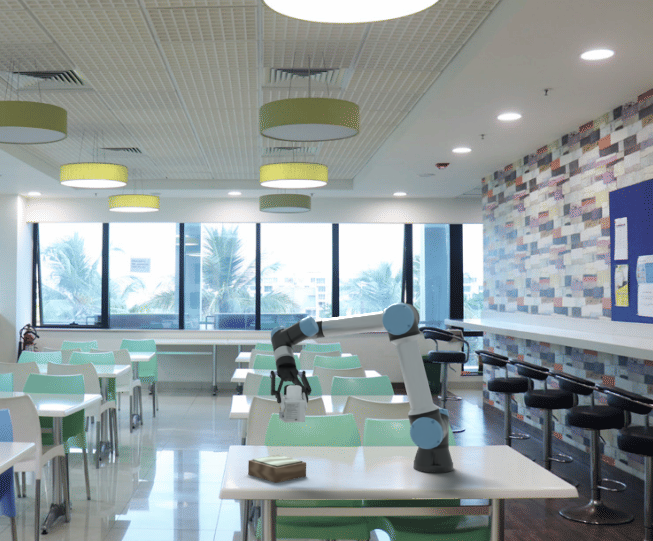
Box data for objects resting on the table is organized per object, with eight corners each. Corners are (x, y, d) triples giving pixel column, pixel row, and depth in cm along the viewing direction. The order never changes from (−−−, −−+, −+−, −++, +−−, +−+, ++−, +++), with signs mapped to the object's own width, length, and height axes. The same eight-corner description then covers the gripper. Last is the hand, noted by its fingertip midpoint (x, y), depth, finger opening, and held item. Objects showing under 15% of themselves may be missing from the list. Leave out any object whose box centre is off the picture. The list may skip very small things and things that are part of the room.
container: (278, 419, 253) (280, 383, 254) (298, 418, 255) (299, 383, 256) (284, 422, 246) (286, 386, 246) (305, 422, 248) (306, 386, 249)
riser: (306, 476, 248) (306, 461, 248) (276, 482, 238) (276, 466, 239) (278, 468, 259) (278, 453, 260) (248, 474, 250) (248, 459, 250)
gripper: (308, 367, 269) (319, 415, 253) (257, 367, 263) (264, 416, 247) (312, 354, 264) (324, 402, 248) (260, 354, 258) (268, 403, 242)
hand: (294, 409), depth 248 cm, fingers closed on container, 8 cm apart
